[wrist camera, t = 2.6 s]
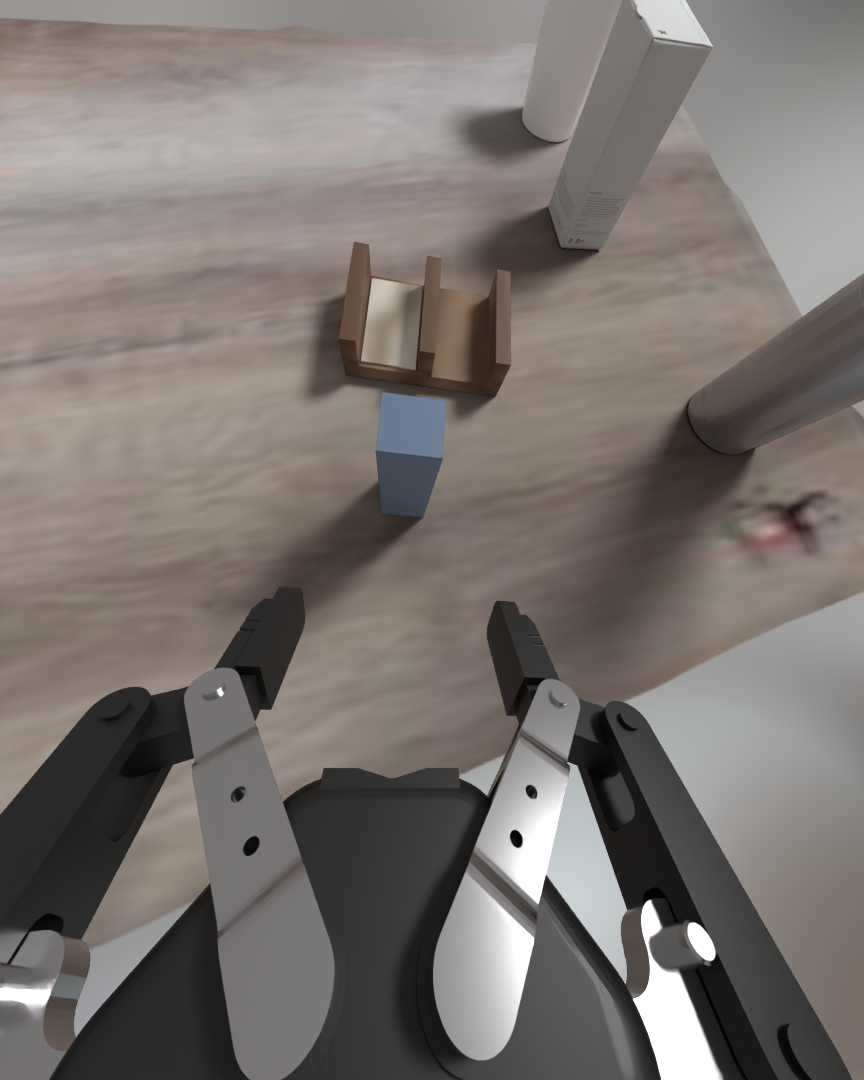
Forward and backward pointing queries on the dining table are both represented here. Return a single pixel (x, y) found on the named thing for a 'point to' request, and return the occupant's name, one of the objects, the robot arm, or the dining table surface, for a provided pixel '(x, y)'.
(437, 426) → the block
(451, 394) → the dining table surface
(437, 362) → the rack
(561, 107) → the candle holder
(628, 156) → the skincare box
